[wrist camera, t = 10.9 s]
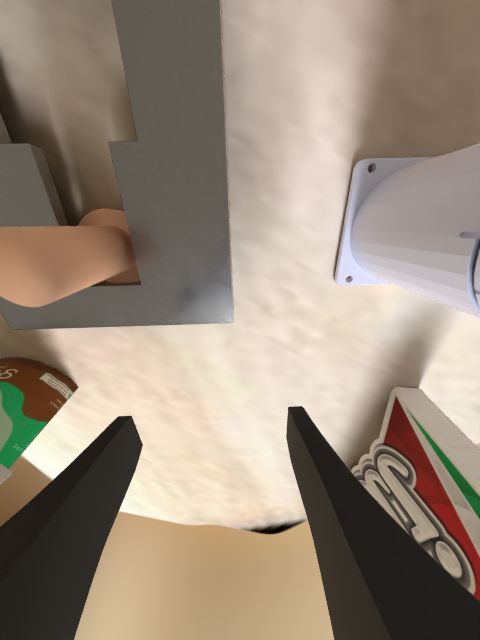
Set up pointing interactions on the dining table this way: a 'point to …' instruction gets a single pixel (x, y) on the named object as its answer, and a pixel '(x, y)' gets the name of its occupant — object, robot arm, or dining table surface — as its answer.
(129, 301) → the keyhole plate
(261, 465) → the dining table surface
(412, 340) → the dining table surface
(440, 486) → the decorative sign
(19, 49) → the dining table surface
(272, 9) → the dining table surface
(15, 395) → the food container
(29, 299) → the peg
